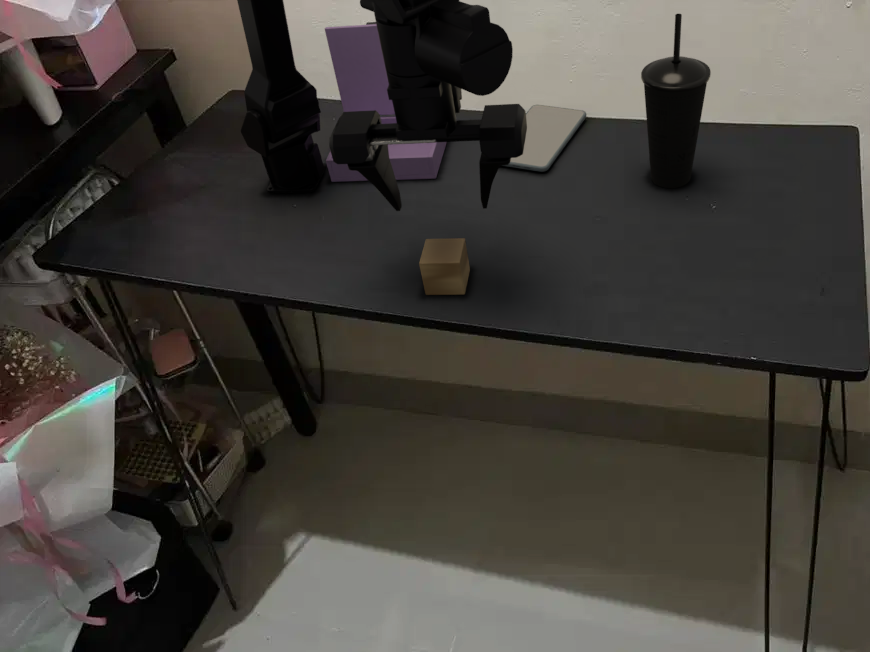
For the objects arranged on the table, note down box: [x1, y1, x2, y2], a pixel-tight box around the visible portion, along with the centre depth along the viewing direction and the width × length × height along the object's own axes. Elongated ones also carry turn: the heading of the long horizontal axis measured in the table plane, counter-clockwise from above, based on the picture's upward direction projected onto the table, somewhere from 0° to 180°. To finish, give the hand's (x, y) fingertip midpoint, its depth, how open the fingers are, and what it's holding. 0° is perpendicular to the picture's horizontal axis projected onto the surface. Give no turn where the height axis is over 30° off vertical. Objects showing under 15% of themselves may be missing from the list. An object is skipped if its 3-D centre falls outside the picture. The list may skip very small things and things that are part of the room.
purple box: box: [325, 115, 448, 183], centre depth 112 cm, size 11×14×3 cm
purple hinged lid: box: [324, 21, 395, 116], centre depth 112 cm, size 12×14×4 cm
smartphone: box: [501, 104, 587, 173], centre depth 112 cm, size 8×1×15 cm
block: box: [418, 237, 471, 296], centre depth 91 cm, size 4×4×4 cm
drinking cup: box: [640, 13, 712, 189], centre depth 96 cm, size 8×8×20 cm
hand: (442, 207), depth 87 cm, fingers open, 9 cm apart
